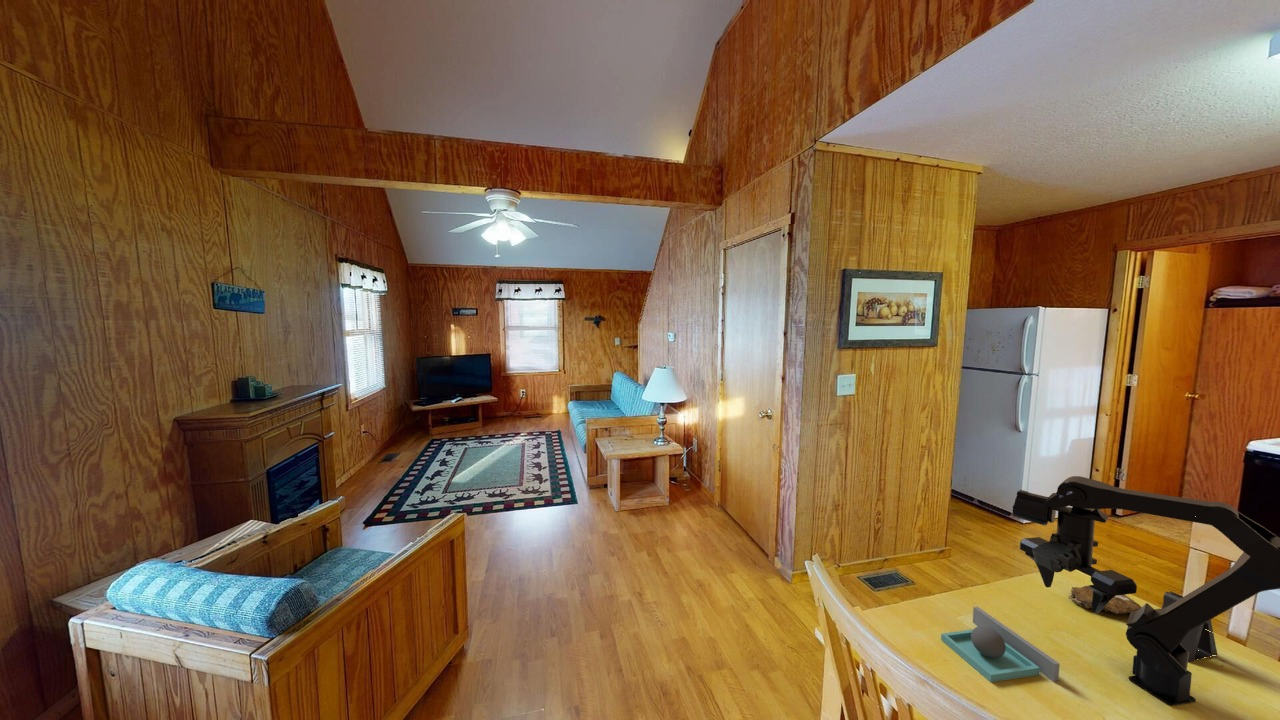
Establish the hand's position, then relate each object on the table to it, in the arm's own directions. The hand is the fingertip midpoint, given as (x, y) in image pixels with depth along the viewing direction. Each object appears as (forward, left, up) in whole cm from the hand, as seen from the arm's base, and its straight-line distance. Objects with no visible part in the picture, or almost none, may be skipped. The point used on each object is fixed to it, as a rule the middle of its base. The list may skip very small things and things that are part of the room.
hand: (1070, 599), depth 94 cm
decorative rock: (+11, -27, -12) cm, 31 cm away
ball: (+1, +20, -9) cm, 22 cm away
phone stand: (-4, -26, -12) cm, 29 cm away
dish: (+1, +20, -12) cm, 23 cm away
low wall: (+2, +12, -12) cm, 17 cm away
